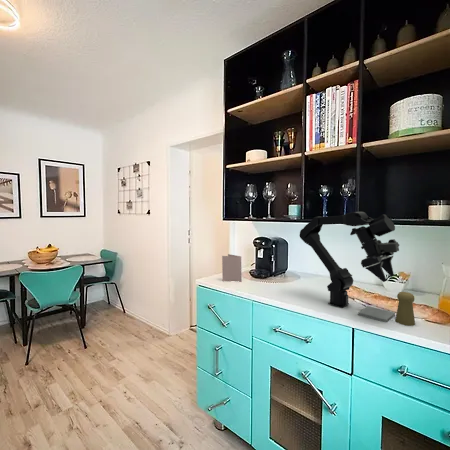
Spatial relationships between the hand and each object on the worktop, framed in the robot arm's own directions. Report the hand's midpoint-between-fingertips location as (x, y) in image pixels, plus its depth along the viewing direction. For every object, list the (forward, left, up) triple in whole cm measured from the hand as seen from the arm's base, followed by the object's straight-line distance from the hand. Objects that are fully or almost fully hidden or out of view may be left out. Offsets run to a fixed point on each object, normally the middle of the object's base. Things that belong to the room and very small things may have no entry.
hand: (388, 278), depth 101 cm
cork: (+6, 0, -15) cm, 16 cm away
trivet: (-4, 0, -15) cm, 16 cm away
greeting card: (-80, -5, -15) cm, 82 cm away
